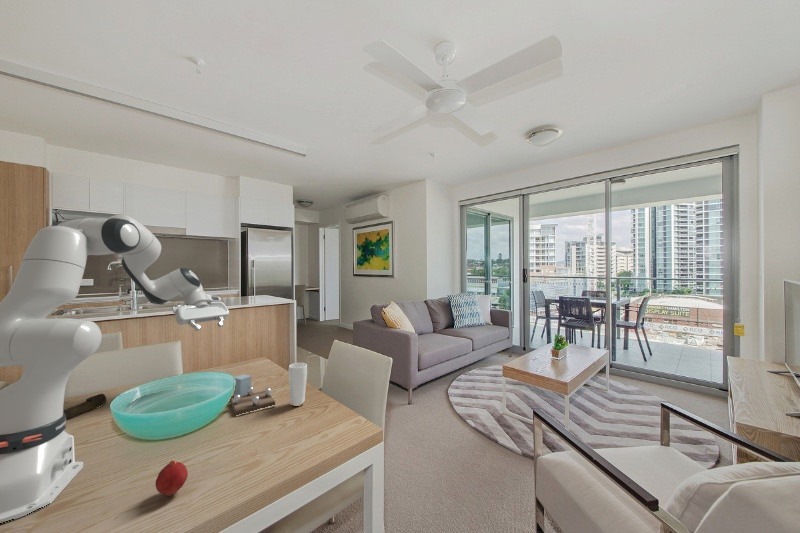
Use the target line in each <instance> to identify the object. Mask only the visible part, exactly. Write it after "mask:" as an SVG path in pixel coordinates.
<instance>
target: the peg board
mask: <svg viewBox="0 0 800 533" xmlns="http://www.w3.org/2000/svg"><path fill="white" fill-rule="evenodd" d="M231 403H232V405H231V407H232V406H233V407H232V409H233V408H234V410H233V412H234V411H235V412H234V414H235V413H236V415H239V414H242V413H246V412H250V411H254V410H257V409H260V408H265V407H268V406H272V405H275V406H276V400H274V398H273V397H272V388H271V387H266V388H265V390H263V391H258V392H254V386H251V387H248V389H247V395H243V396H240V394H236V395H234V398H233V397H231V398H230V404H231ZM236 415H235V416H236Z"/></svg>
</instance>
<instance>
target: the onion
mask: <svg viewBox="0 0 800 533" xmlns="http://www.w3.org/2000/svg"><path fill="white" fill-rule="evenodd" d="M188 473H189V472H188V469H187V466H186V465H185V464H183V463H181V462H180V461H176V459H175V458H174V459H171V461H170V462H168V463H167V464H166V465H165V466H164V467H163V468H162V469H161V470H160V472H158V475H157V478H156V480H155V485H154V486H155V489H156V491H157V492H158V493H159V494H161V495H165V496H170V495H172V496H174V495H175V494H176V493H177V492H178V491H179V490H180V489H181V488H182V487H183V486H184V485H185V482H186V481H187V480H188V475H189V474H188ZM173 494H174V495H173ZM170 497H171V496H170Z"/></svg>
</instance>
